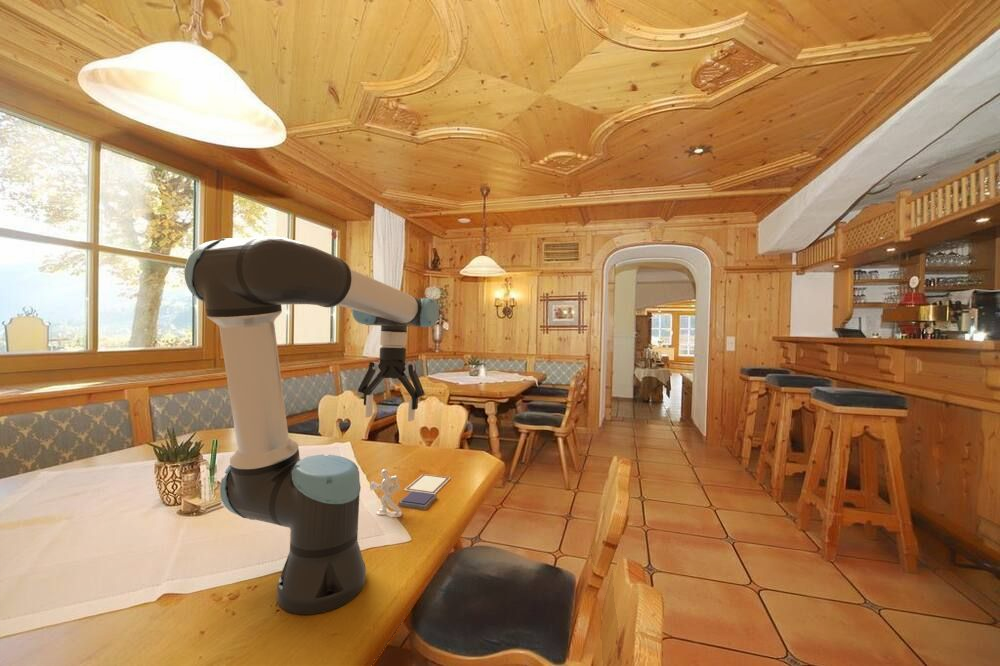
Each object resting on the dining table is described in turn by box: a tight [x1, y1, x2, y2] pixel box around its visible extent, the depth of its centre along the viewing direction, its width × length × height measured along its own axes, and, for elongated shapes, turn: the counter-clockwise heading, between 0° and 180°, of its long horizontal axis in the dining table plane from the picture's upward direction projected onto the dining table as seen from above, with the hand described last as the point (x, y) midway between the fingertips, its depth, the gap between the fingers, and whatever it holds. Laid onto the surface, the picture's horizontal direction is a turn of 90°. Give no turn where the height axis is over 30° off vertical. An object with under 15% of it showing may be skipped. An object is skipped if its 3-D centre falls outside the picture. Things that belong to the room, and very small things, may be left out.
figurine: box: [369, 468, 403, 519], centre depth 104 cm, size 5×9×12 cm, turn 86°
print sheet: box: [403, 473, 452, 495], centre depth 126 cm, size 14×10×1 cm
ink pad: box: [398, 491, 437, 511], centre depth 112 cm, size 8×8×1 cm
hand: (389, 418), depth 117 cm, fingers open, 13 cm apart
